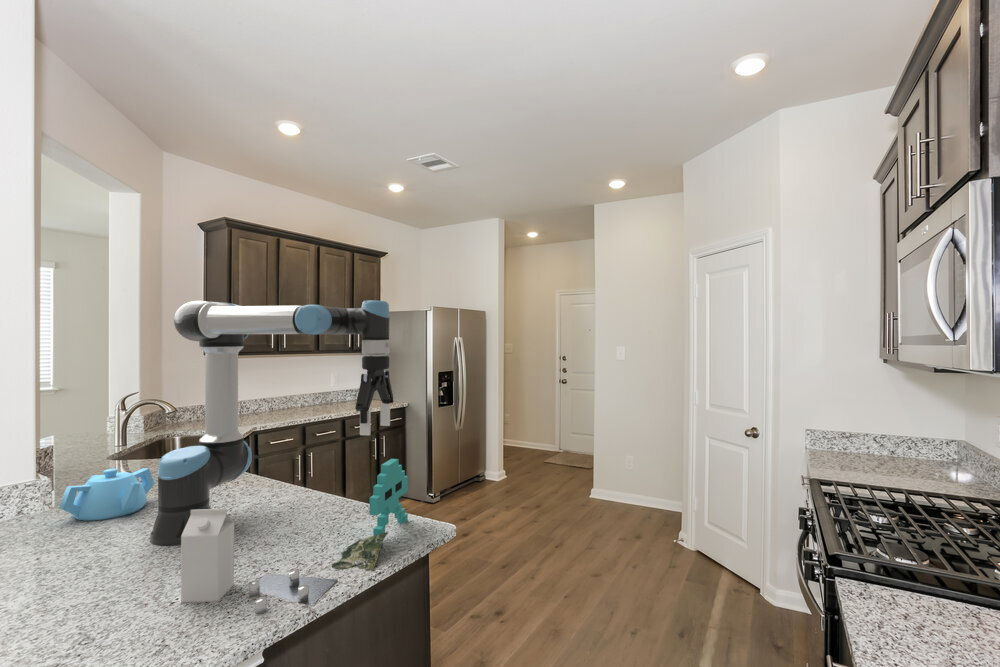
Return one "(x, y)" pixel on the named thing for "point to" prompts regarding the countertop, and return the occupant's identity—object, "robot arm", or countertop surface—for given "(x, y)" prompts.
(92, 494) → the teapot
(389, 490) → the alien figure
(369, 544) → the topographical model
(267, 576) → the plate
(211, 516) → the milk carton
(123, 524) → the countertop surface
